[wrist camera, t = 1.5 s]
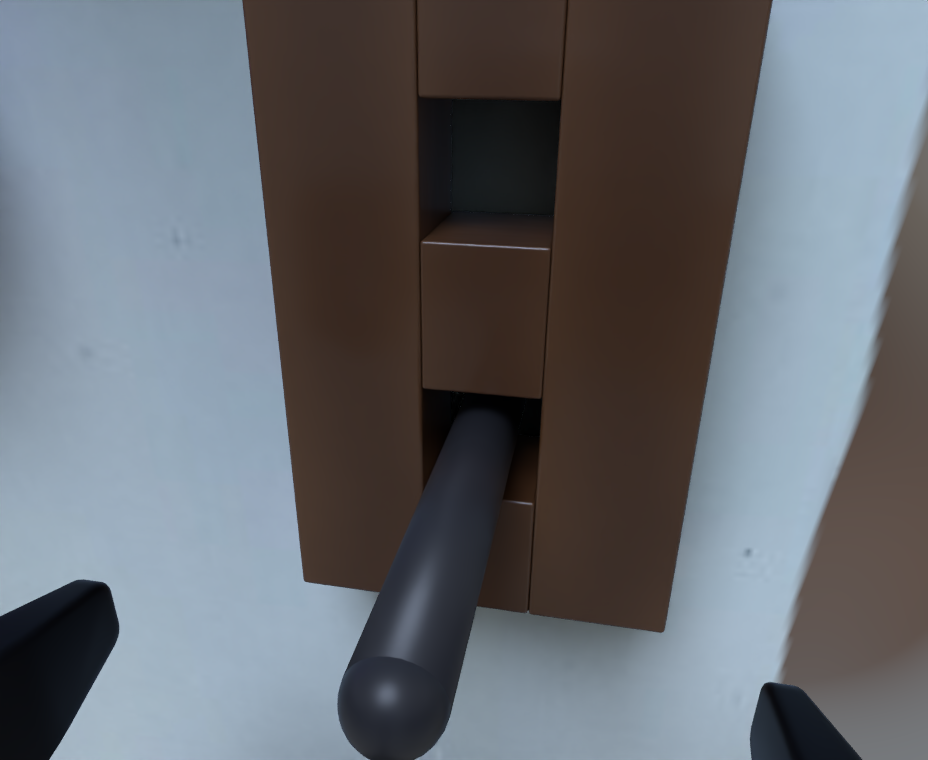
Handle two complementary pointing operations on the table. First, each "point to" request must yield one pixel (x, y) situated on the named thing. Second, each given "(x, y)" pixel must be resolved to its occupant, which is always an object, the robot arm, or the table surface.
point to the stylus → (431, 591)
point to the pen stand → (502, 275)
